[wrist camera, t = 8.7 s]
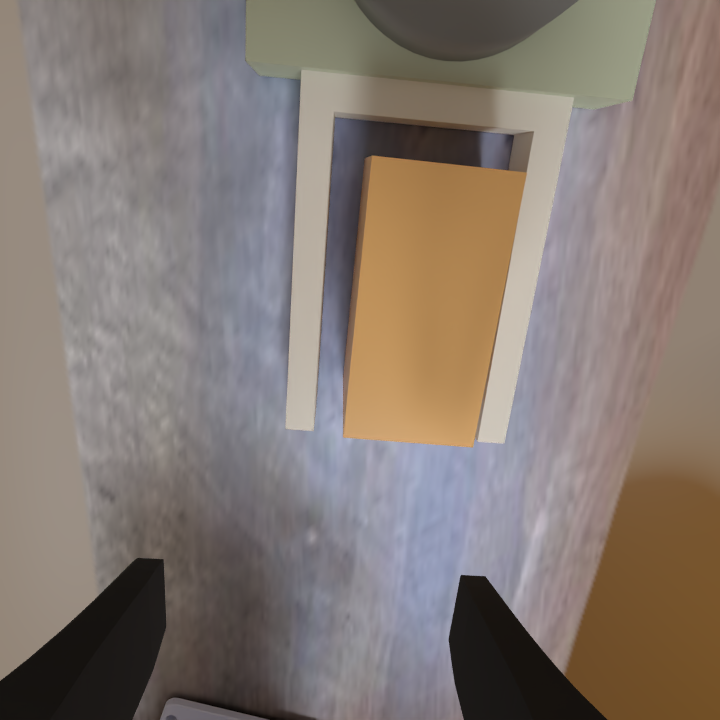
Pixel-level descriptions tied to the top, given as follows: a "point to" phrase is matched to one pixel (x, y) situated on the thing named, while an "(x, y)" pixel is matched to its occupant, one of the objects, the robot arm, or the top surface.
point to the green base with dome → (441, 124)
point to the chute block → (426, 298)
